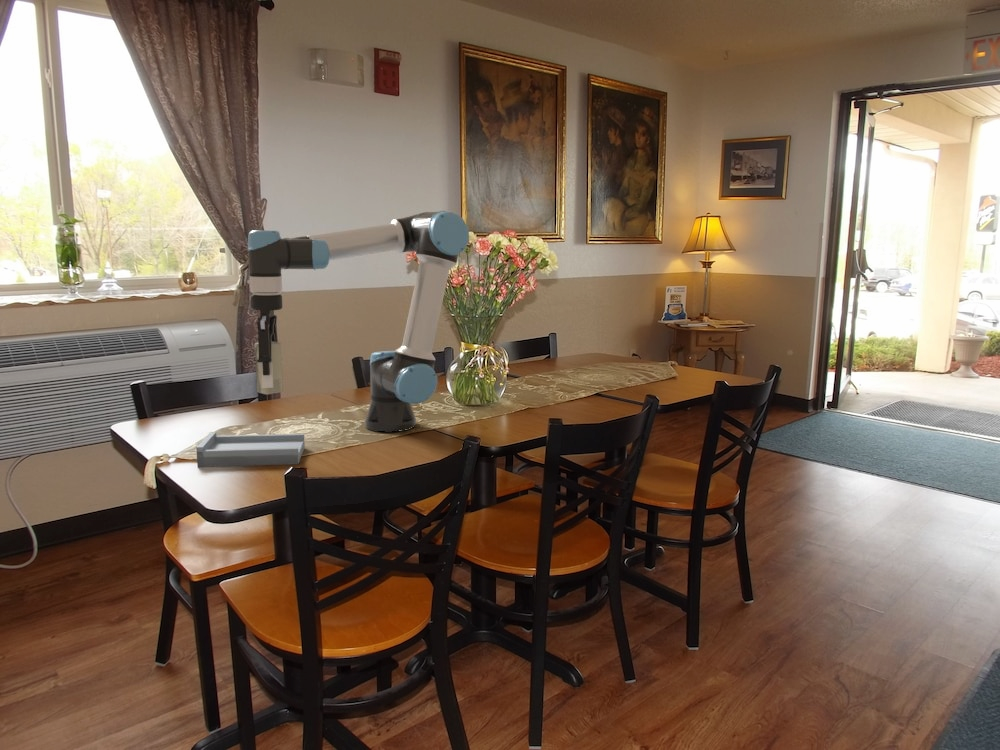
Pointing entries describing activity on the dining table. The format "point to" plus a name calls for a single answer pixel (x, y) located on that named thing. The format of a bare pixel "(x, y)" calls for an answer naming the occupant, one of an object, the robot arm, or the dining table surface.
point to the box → (276, 369)
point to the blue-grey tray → (250, 450)
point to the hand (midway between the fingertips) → (269, 384)
